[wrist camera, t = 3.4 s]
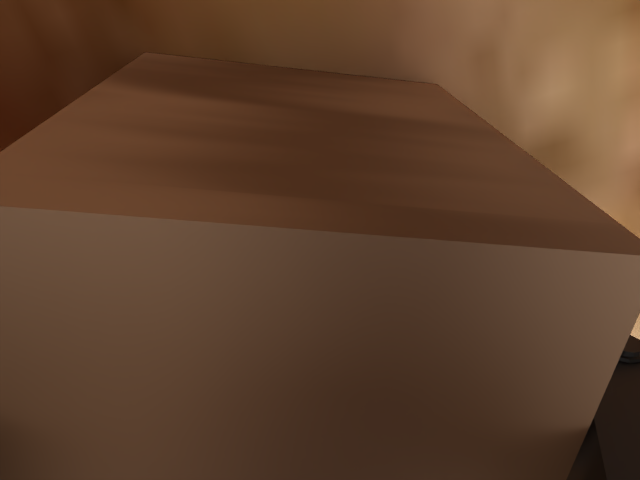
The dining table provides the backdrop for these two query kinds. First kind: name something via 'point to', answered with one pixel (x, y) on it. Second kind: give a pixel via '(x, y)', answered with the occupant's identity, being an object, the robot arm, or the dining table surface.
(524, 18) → the dining table surface
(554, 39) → the dining table surface
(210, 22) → the dining table surface
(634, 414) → the robot arm
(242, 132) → the brown rectangular block
